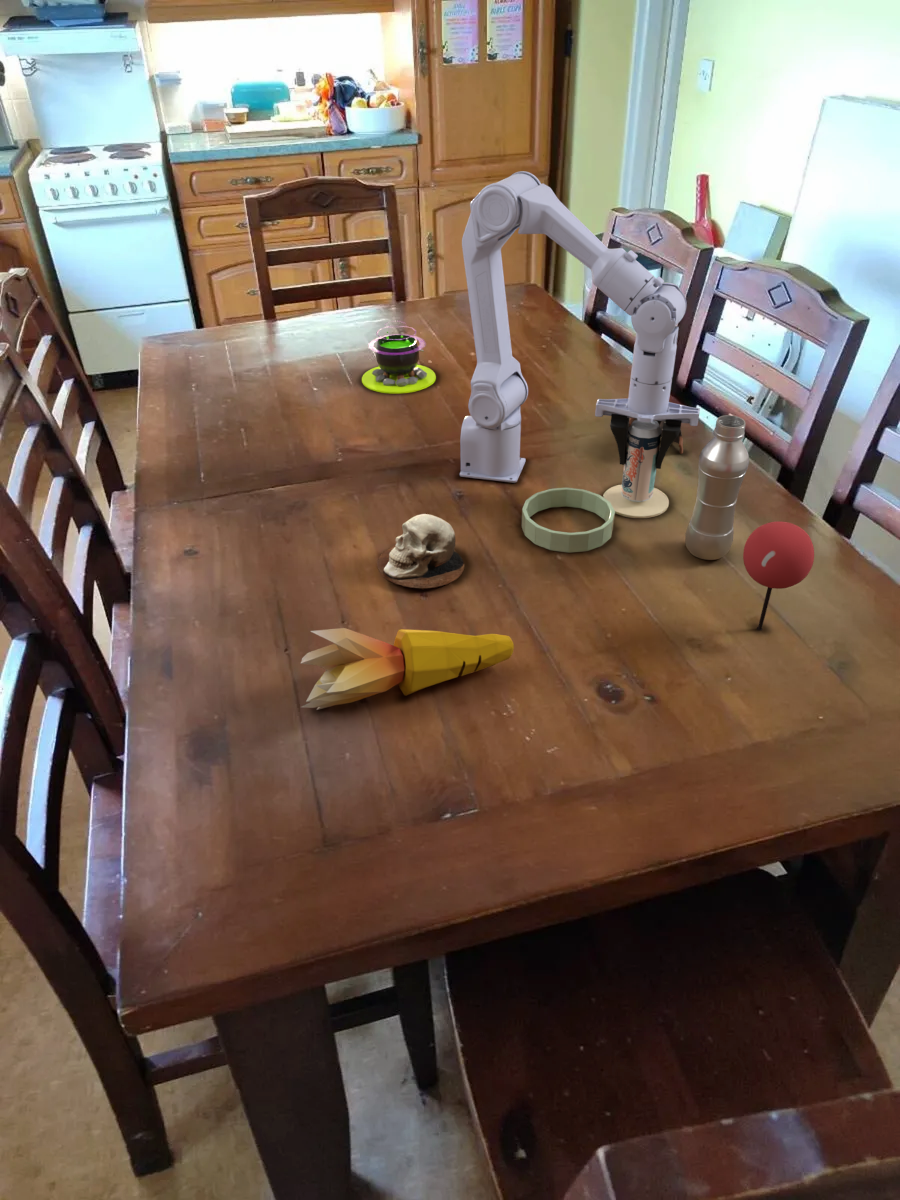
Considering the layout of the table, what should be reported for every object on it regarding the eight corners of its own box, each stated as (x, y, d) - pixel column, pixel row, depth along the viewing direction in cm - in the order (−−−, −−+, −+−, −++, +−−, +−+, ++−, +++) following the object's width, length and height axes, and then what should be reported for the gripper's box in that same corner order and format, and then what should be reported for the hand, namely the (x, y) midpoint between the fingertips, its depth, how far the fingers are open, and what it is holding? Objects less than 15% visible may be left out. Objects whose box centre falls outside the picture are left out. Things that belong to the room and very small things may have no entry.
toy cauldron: (450, 373, 174) (449, 319, 168) (408, 399, 164) (405, 343, 158) (390, 359, 181) (387, 307, 174) (346, 384, 171) (341, 329, 164)
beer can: (617, 489, 133) (625, 418, 126) (647, 487, 134) (657, 416, 126) (624, 505, 129) (633, 432, 122) (656, 503, 130) (666, 430, 123)
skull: (404, 599, 111) (376, 526, 111) (384, 610, 121) (358, 543, 121) (484, 570, 115) (456, 499, 116) (458, 583, 125) (432, 517, 125)
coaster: (598, 513, 129) (599, 511, 129) (607, 482, 137) (607, 480, 137) (666, 522, 127) (666, 519, 127) (670, 489, 135) (671, 487, 135)
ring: (513, 545, 123) (514, 527, 121) (531, 500, 133) (532, 483, 131) (606, 557, 120) (608, 539, 118) (617, 510, 130) (619, 493, 128)
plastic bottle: (731, 544, 122) (759, 413, 110) (727, 569, 117) (756, 435, 105) (685, 536, 124) (707, 407, 112) (679, 561, 119) (702, 429, 107)
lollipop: (721, 610, 110) (743, 509, 101) (781, 610, 109) (809, 509, 100) (735, 649, 104) (759, 545, 95) (799, 649, 103) (830, 545, 94)
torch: (507, 694, 103) (298, 719, 96) (492, 635, 107) (290, 654, 99) (527, 668, 96) (304, 693, 89) (511, 605, 99) (295, 624, 92)
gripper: (595, 383, 119) (588, 470, 127) (703, 392, 115) (688, 481, 123) (602, 364, 124) (594, 449, 132) (705, 373, 121) (691, 459, 129)
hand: (640, 463), depth 128 cm, fingers closed on beer can, 5 cm apart
